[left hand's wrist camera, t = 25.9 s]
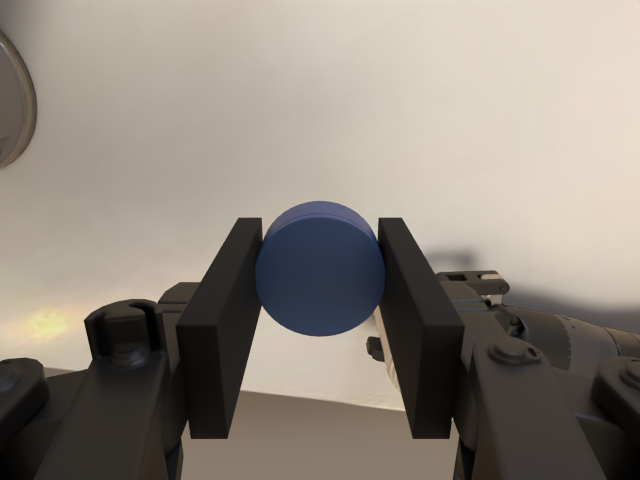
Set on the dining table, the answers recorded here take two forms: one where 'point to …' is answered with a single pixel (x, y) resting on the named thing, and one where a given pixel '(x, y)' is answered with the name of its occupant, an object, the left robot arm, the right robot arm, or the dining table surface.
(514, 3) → the dining table surface
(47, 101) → the dining table surface
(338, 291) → the cap
